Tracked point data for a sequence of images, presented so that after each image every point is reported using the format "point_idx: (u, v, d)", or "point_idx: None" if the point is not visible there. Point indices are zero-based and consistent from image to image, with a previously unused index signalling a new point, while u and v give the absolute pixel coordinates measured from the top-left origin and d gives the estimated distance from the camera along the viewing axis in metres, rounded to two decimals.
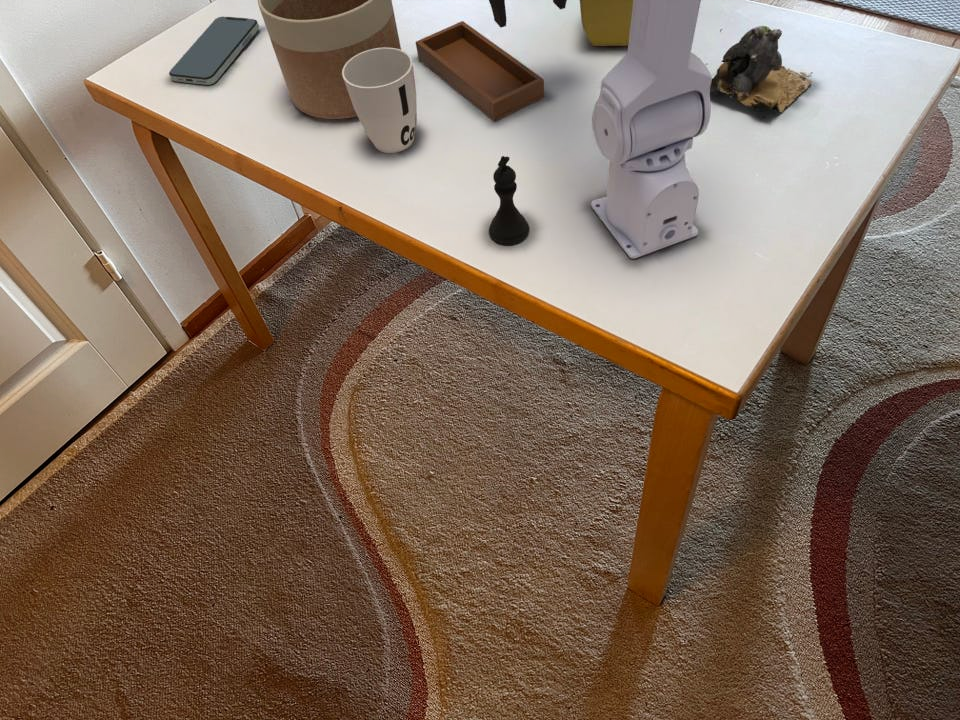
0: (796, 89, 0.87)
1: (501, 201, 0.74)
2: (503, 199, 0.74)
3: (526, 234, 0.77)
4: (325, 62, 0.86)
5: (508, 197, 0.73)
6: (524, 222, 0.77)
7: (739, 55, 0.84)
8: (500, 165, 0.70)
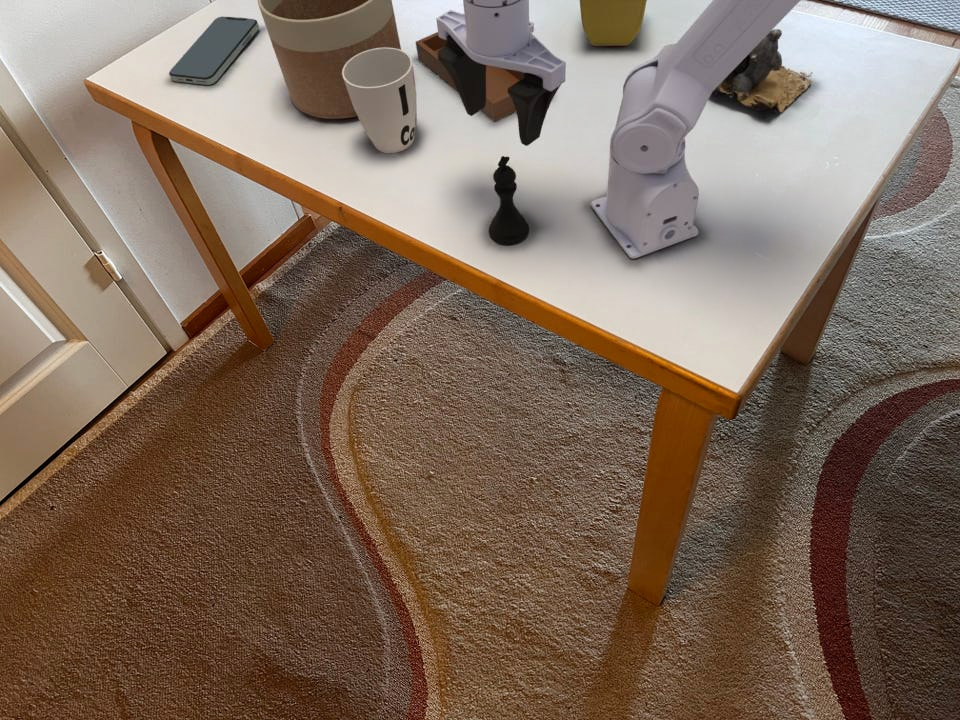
0: (796, 89, 0.87)
1: (501, 201, 0.74)
2: (502, 199, 0.74)
3: (526, 234, 0.77)
4: (325, 62, 0.86)
5: (508, 197, 0.73)
6: (524, 222, 0.77)
7: None
8: (500, 165, 0.70)
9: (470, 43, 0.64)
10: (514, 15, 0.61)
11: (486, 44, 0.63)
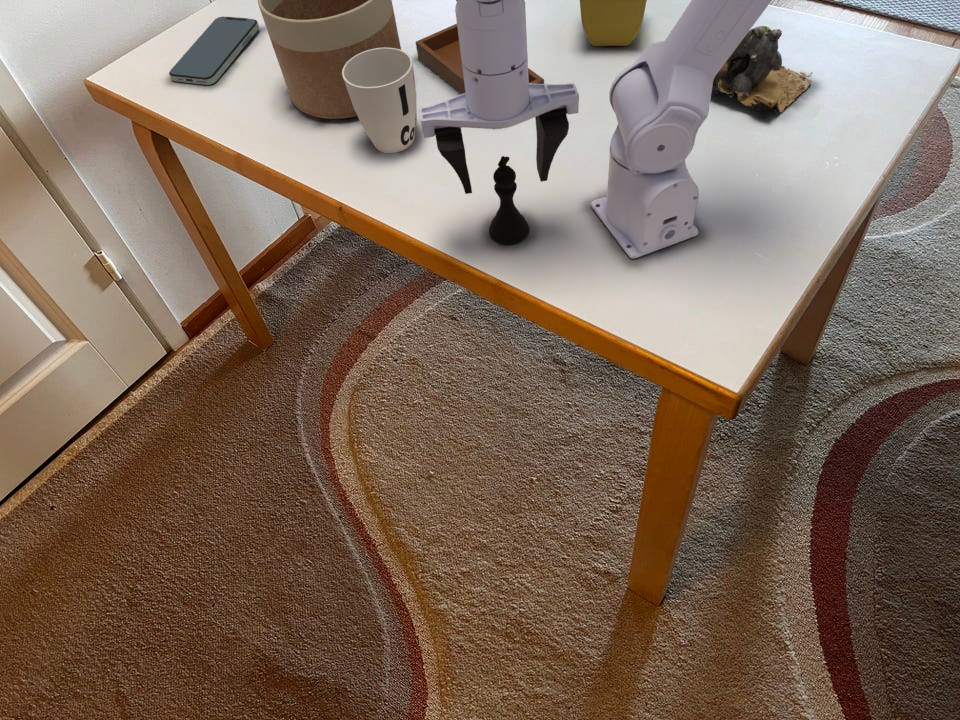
0: (796, 89, 0.87)
1: (501, 201, 0.74)
2: (503, 199, 0.74)
3: (526, 234, 0.77)
4: (325, 62, 0.86)
5: (508, 197, 0.73)
6: (524, 222, 0.77)
7: (739, 55, 0.84)
8: (500, 165, 0.70)
9: (494, 114, 0.63)
10: (527, 66, 0.62)
11: (514, 105, 0.63)
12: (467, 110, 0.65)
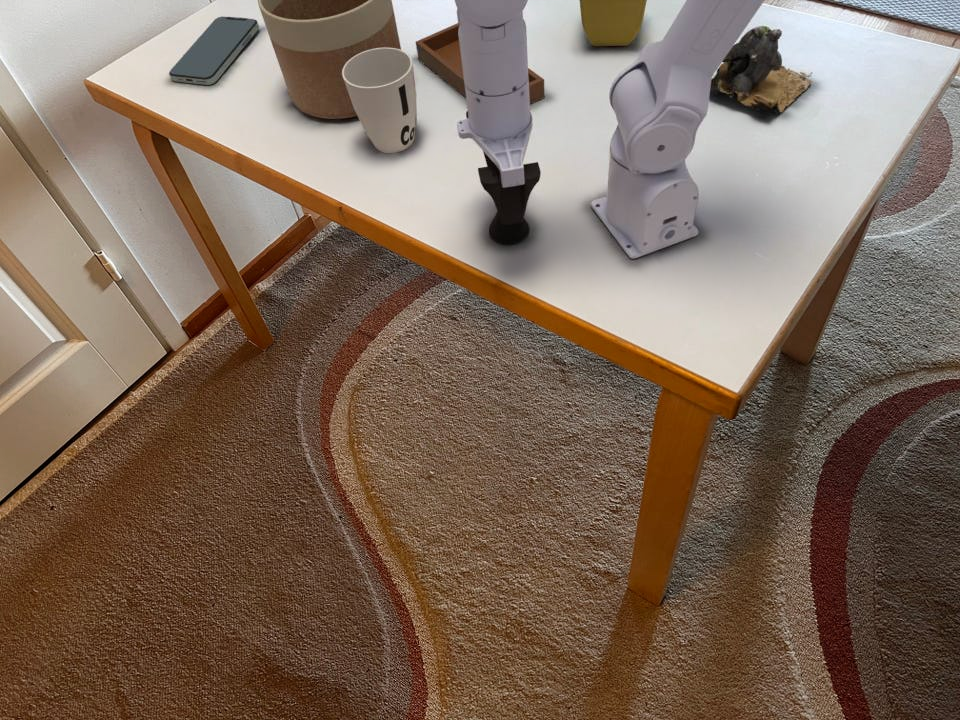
0: (796, 89, 0.87)
1: None
2: None
3: (526, 234, 0.77)
4: (325, 62, 0.86)
5: None
6: (524, 222, 0.77)
7: (739, 55, 0.84)
8: None
9: (529, 113, 0.66)
10: None
11: None
12: (510, 137, 0.65)
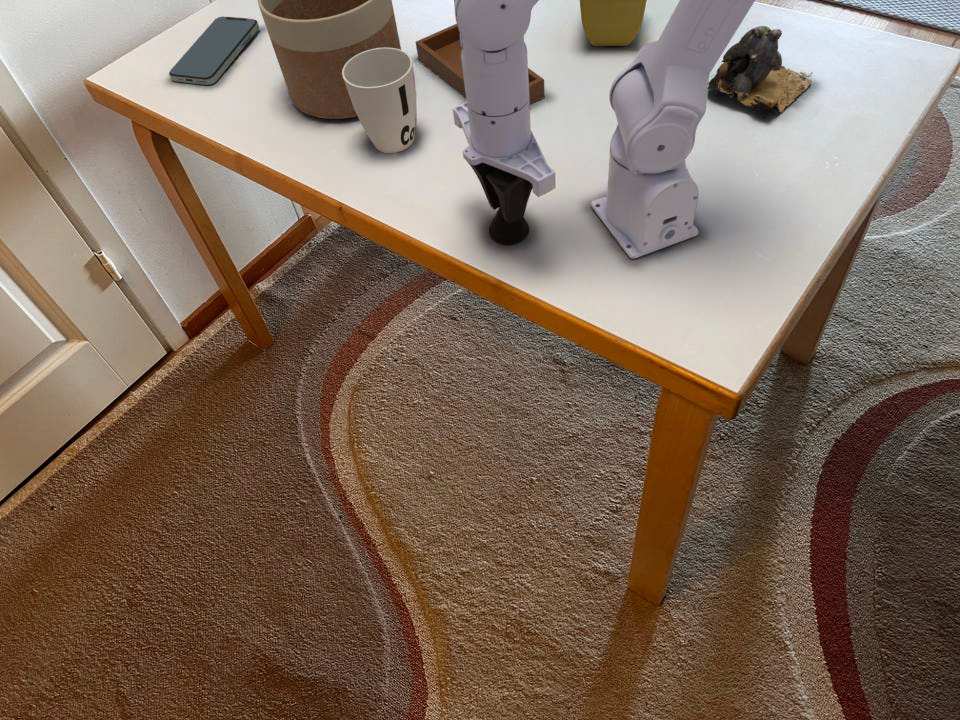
0: (796, 89, 0.87)
1: None
2: None
3: (526, 234, 0.77)
4: (325, 62, 0.86)
5: None
6: (524, 222, 0.77)
7: (739, 55, 0.84)
8: None
9: None
10: None
11: None
12: (523, 150, 0.67)
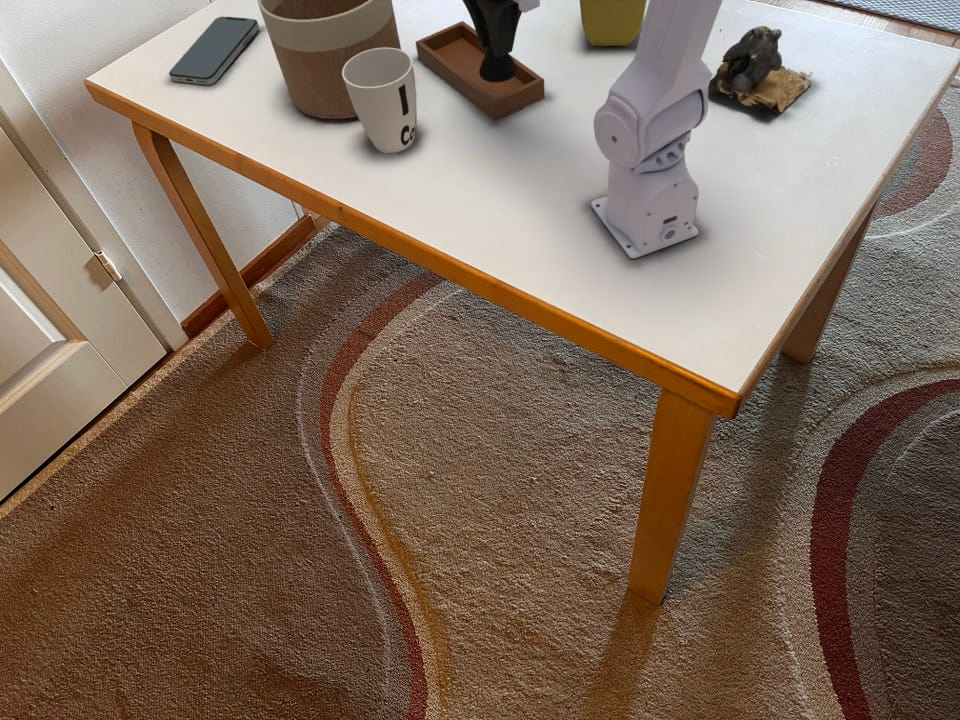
0: (796, 89, 0.87)
1: None
2: None
3: (514, 73, 0.83)
4: (325, 62, 0.86)
5: None
6: (512, 61, 0.83)
7: (739, 55, 0.84)
8: None
9: None
10: None
11: None
12: None
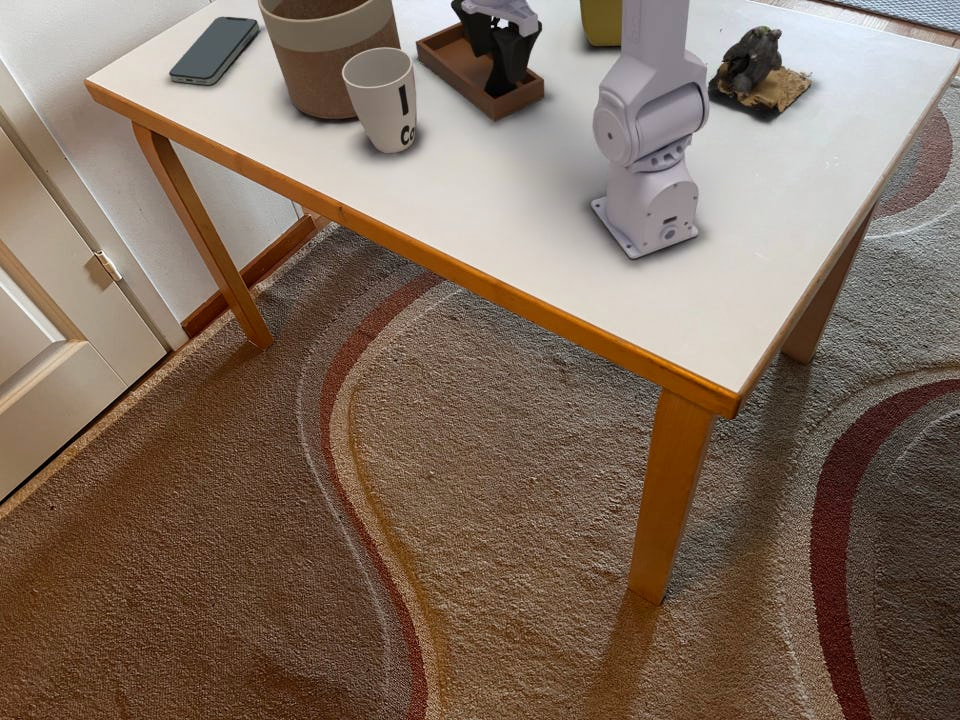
0: (796, 89, 0.87)
1: (493, 60, 0.89)
2: (495, 58, 0.88)
3: None
4: (325, 62, 0.86)
5: (499, 55, 0.88)
6: None
7: (739, 55, 0.84)
8: (492, 24, 0.85)
9: None
10: None
11: None
12: (511, 1, 0.81)
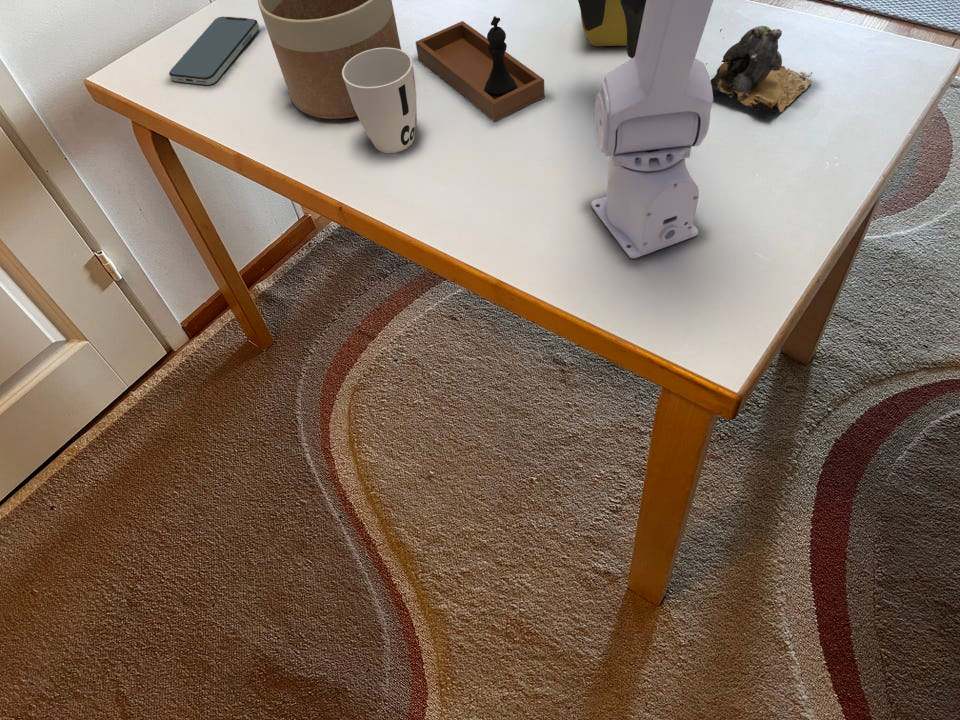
0: (796, 89, 0.87)
1: (493, 60, 0.89)
2: (495, 58, 0.88)
3: None
4: (325, 62, 0.86)
5: (499, 55, 0.88)
6: (513, 82, 0.91)
7: (739, 55, 0.84)
8: (492, 24, 0.85)
9: None
10: None
11: None
12: None
